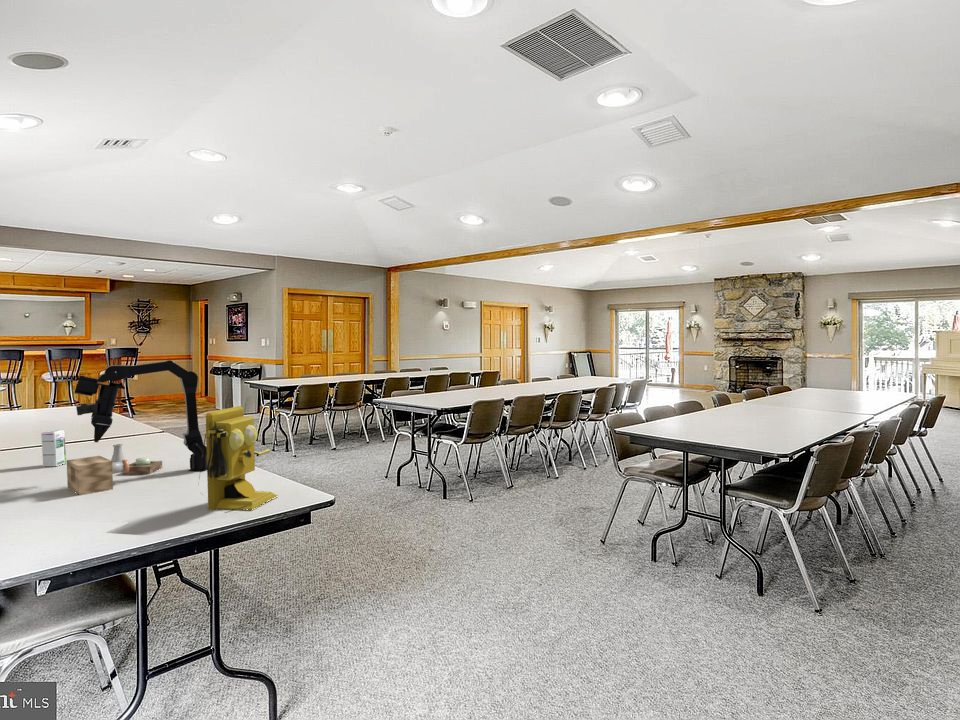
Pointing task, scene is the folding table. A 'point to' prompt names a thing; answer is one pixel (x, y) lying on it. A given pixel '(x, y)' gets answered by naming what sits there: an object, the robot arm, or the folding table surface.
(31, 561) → the folding table surface
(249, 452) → the vintage telephone
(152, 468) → the button housing
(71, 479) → the wooden box
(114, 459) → the flask
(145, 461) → the table button
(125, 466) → the plunger
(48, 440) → the syrup box
